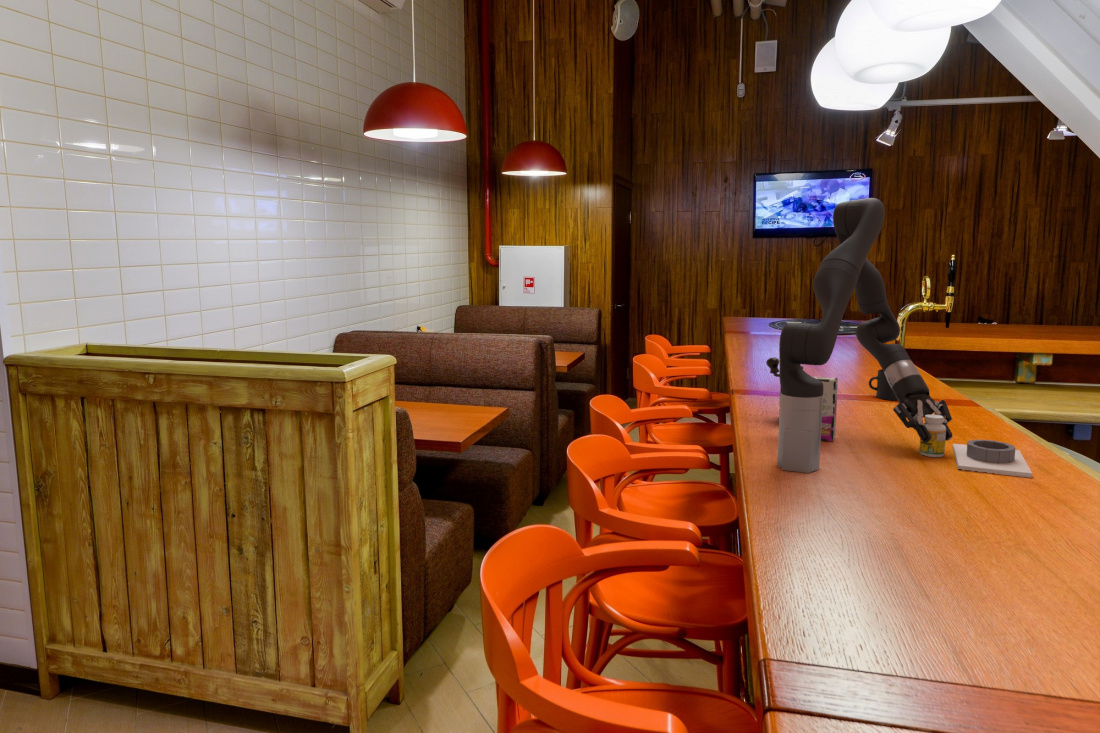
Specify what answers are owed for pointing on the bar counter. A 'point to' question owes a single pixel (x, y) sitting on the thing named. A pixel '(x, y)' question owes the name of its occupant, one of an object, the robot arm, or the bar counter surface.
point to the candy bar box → (828, 407)
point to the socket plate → (991, 458)
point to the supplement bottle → (934, 437)
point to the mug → (883, 387)
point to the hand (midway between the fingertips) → (938, 439)
